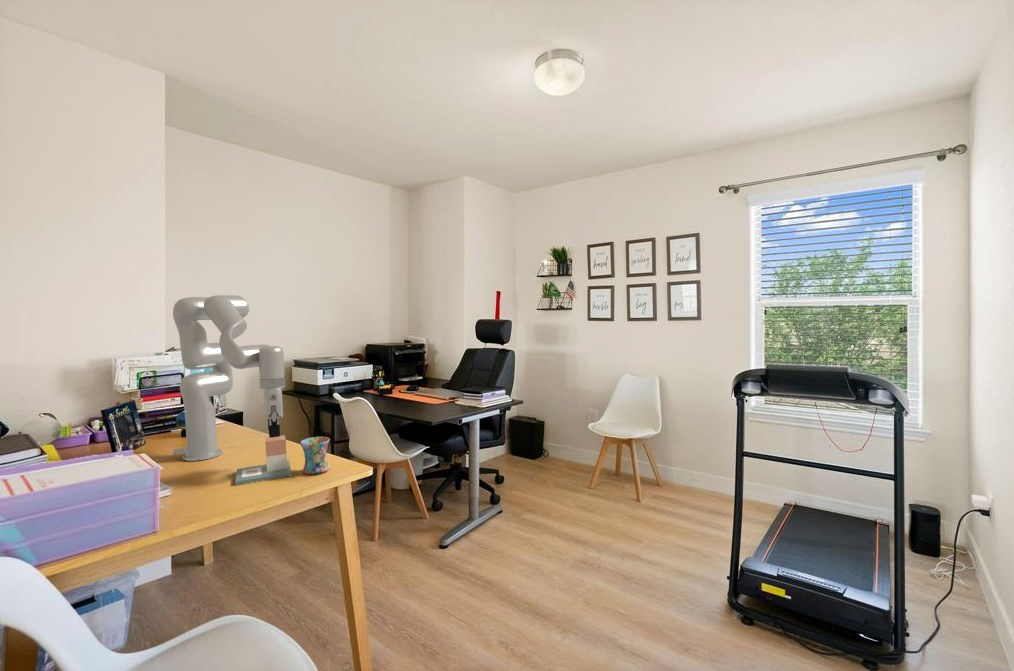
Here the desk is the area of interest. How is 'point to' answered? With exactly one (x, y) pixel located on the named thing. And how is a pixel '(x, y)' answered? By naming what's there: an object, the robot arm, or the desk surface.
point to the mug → (315, 455)
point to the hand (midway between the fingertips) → (274, 433)
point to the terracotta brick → (275, 446)
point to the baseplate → (265, 470)
